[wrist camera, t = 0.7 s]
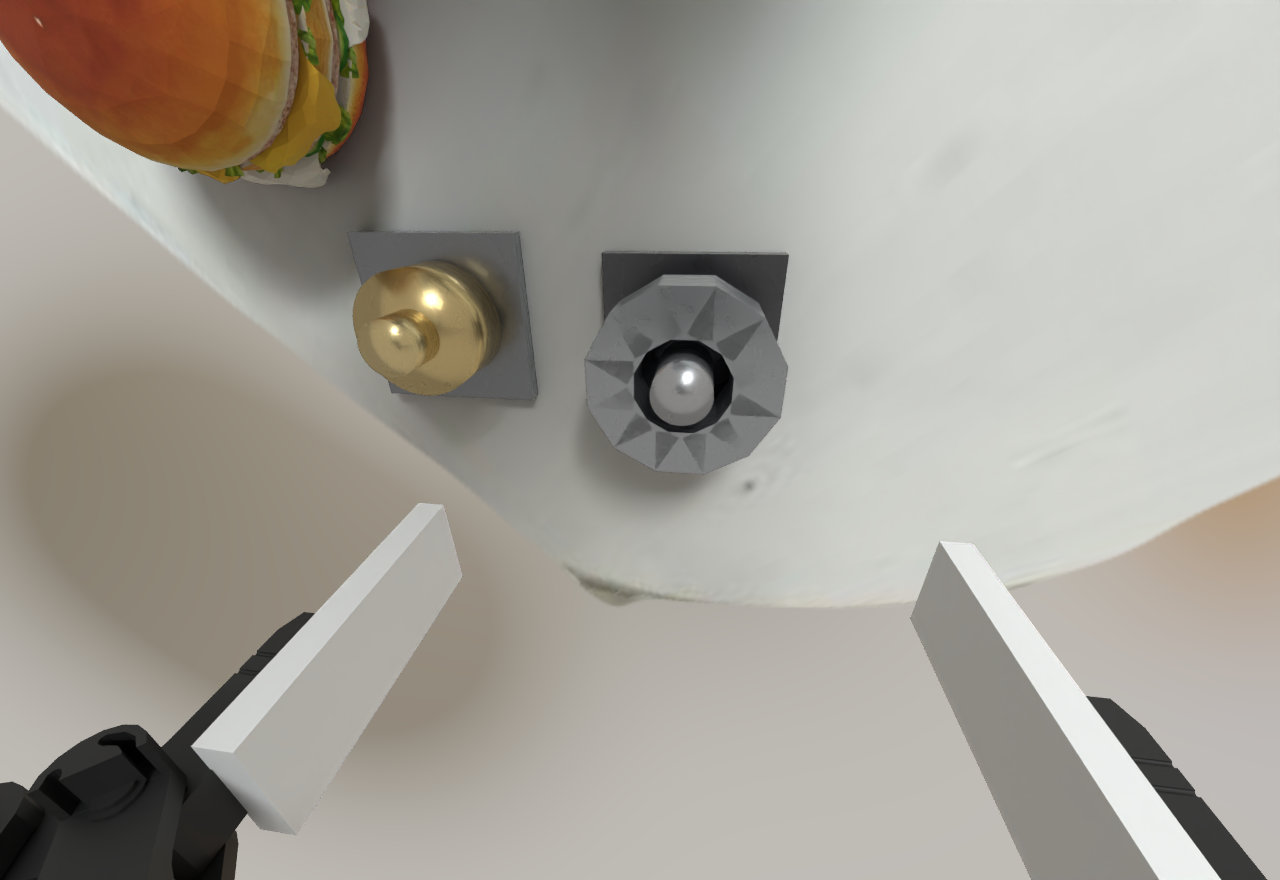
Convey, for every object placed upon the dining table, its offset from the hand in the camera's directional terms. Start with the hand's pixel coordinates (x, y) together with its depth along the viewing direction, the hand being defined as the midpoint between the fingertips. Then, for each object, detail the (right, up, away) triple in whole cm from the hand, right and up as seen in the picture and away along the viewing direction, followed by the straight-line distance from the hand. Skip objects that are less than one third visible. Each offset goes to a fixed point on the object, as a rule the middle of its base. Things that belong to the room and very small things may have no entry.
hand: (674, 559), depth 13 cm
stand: (+2, +9, +15) cm, 18 cm away
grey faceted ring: (+1, +7, +11) cm, 13 cm away
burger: (-20, +24, +11) cm, 33 cm away
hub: (-13, +11, +17) cm, 24 cm away
